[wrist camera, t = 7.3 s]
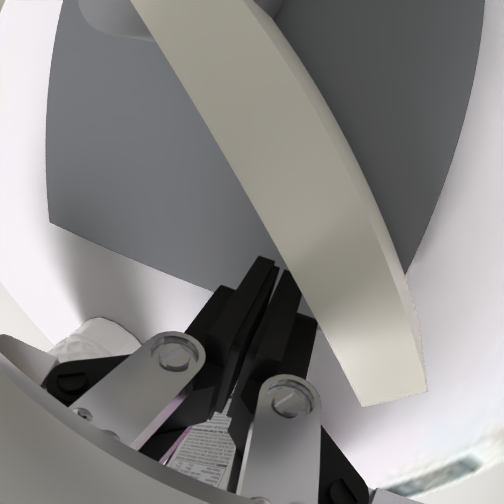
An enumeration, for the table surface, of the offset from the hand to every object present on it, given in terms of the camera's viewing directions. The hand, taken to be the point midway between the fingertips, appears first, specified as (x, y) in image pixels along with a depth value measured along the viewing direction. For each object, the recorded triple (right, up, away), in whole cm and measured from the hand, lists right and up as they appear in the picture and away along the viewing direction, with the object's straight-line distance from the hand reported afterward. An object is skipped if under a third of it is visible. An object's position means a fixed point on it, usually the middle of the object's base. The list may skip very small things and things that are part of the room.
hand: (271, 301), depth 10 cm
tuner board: (-2, +10, 0) cm, 10 cm away
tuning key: (-1, +9, -2) cm, 9 cm away
